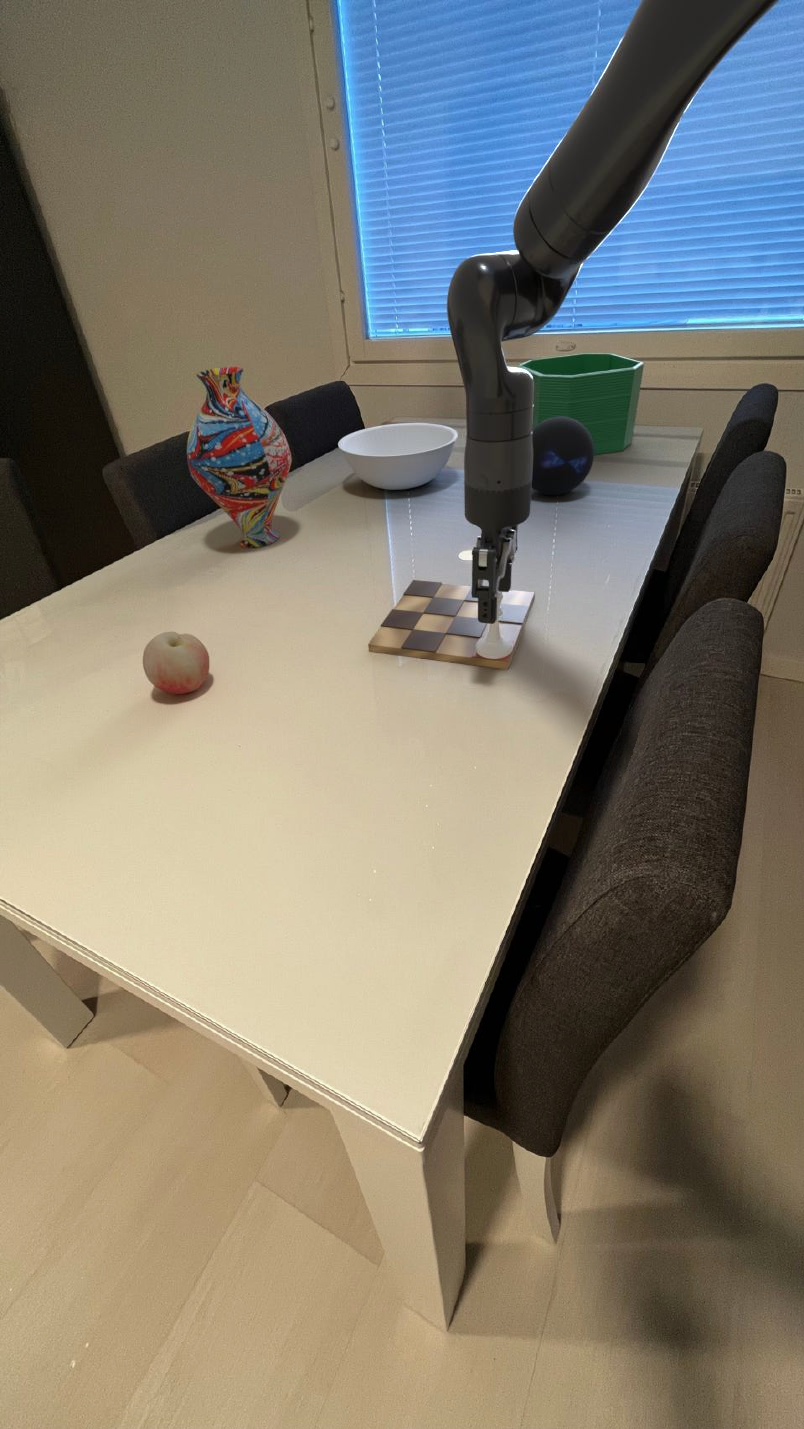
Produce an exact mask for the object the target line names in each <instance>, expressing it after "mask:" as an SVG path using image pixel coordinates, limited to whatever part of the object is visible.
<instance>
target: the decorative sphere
mask: <svg viewBox="0 0 804 1429" xmlns="http://www.w3.org/2000/svg"><path fill="white" fill-rule="evenodd" d="M532 442H533V470H532V488H531V489H533V490H535V491H537V492H538V493H541V494H544V495H549V496H559V495H564V494H566V493H569V492H572V491H573V490H574V489H576V488H578V486H580V485H581V484H583V482H584V481H585V479H586V478H587V477H588V475H589V474H590V472H591V470H592V467H593V465H594V459H595V455H594V444H593V440H592V437H591V435H590V433H589V432H588V430H587V429H586V428H585V427H584V426H583V425H582V424H581V423H580V422H578V421H577V420H574V419H572V418H569V417H553V418H549V419H546V420H544V421H542V422H541V423H539V424H538V425H536V426H535V427H534V428H533V429H532Z"/></svg>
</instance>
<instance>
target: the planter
mask: <svg viewBox="0 0 804 1429" xmlns="http://www.w3.org/2000/svg"><path fill="white" fill-rule="evenodd" d="M516 367H517V368H522V369H525V370H526V371H528V372H529V373H530V374H531V375H532V377H533V380H534V409H533V427H532V429H533V428H534V427H535V426H536V425H538V424H539V423H541V422H542V421H544V420H546V419H549V418H553V417H569V418H572V419H574V420H577V421H578V422H580V423H581V424H582V425H583V426H584V427H585V428H586V429H587V430H588V432H589V433H590V435H591V437H592V440H593V444H594V456H599V455H606V454H611V453H613V454H614V453H619V452H623V451H624V450H626V448H628V447H629V446H630V445H631V444H632V443H633V437H634V430H635V428H636V427H635V425H636V420H637V419H636V418H637V412H638V408H639V407H638V406H639V401H640V395H641V393H640V392H641V385H642V381H643V380H642V379H643V375H644V368H645V363H644V362H643V361H639V360H635V359H632V358H628V357H624V356H621V355H618V354H614V353H602V352H601V353H598V352H597V353H594V352H591V353H589V352H584V353H577V354H569V355H560V356H559V355H558V356H552V357H544V358H536V359H530V360H527V361H525V362H523V363H521V364H518V365H516Z"/></svg>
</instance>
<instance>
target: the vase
mask: <svg viewBox="0 0 804 1429" xmlns="http://www.w3.org/2000/svg"><path fill="white" fill-rule="evenodd" d="M243 372H244V368H243V367H240V366H225V367H217V368H210V369H206V370H202V371H199V372H197V373H196V374H195V375H196V377H197V378H198V379H199V380H200V381H201V383H202V384H203V385H204V387H205V392H206V395H205V396H206V397H205V401H204V402H203V404H202V406H201V408H200V409H199V411H198V412H197V413H196V416H195V417H194V420H193V422H192V424H191V427H190V429H189V434H188V437H187V443H186V460H187V466H188V470H189V472H190V476H191V478H192V479H193V480H194V481H195V482H196V484H197V485H198V486H199V487H200V489H201V490H203V491H204V492H205V494H207V495H208V496H209V497H210V498H211V499H212V500H213V501H214V502H215V503H216V504H217V505H218V506H219V508H221V509H222V510H223V512H225V514H226V515H228V516H229V518H230V519H231V520H233V522H234V523H235V525H237V527H238V529H239V530H240V532H241V536H240V537H239V538H238V540H237V544H238V545H239V546H240V547H243V548H260V547H265V546H268V545H270V544H274V542H276V541H278V540H279V538H280V534H279V532H277V531H275V530H273V528H272V524H273V516H274V514H275V511H276V509H277V506H278V502H279V500H280V497H281V494H282V492H283V490H284V486H285V484H286V481H287V478H288V475H289V473H290V469H291V465H292V453H291V449H290V445H289V443H288V442H289V441H288V440H287V438H286V435H285V433H284V432H283V430H282V429H281V427H280V426H279V424H278V422H277V421H276V420H275V419H274V418H273V416H272V415H271V414H270V413H269V412H268V411H267V410H265V409H264V408H263V407H262V406H261V405H260V404H259V403H257V402H256V401H254V400H252V398H250V397H249V396H248V395H247V394H246V393H245V392H244V390H243V388H242V384H241V379H242V374H243Z"/></svg>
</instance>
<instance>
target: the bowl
mask: <svg viewBox="0 0 804 1429" xmlns="http://www.w3.org/2000/svg"><path fill="white" fill-rule="evenodd" d="M458 437H459V433H458V431H457V430H456V429H454V428H452V427H450V426H447V425H442V424H436V423H430V422H429V423H428V422H427V423H426V422H407V423H406V422H404V423H391V424H384V425H378V426H372V427H367V428H363V429H360V430H356V431H354V432H351V433H349V434H346V435H345V436H343V437H342V438H341V439H340V440H339V441H338V443H337V446H338V448H339V449H340V450H341V451H342V453H343V455H344V458H345V460H346V462H347V464H348V465H349V467H350V469H351V470H352V471H353V473H354V474H355V475H356V476H357V477H358V478H359V479H361V480H362V481H363V482H364V483H366V484H368V485H370V486H372V487H374V488H378V489H381V490H389V491H390V490H391V491H400V490H408V489H413V488H417V487H421V486H423V485H425V484H427V483H430V481H432V480H434V479H435V478H436V477H437V476H438V475H440V473H441V472H442V471H443V470H444V468H445V467H446V465H447V463H448V462H449V459H450V457H451V456H452V453H453V449H454V447H455V446H454V445H455V441H457V439H458Z"/></svg>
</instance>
